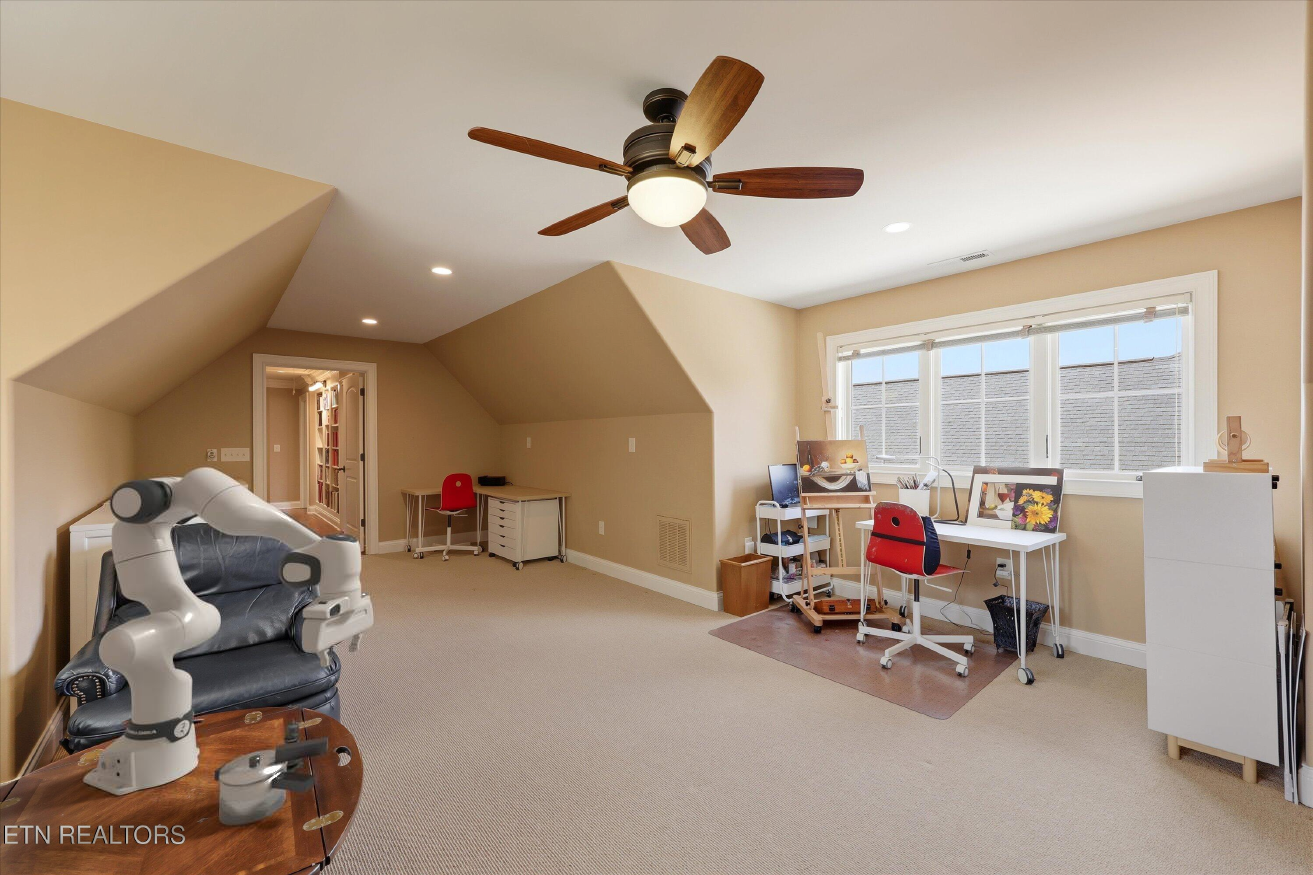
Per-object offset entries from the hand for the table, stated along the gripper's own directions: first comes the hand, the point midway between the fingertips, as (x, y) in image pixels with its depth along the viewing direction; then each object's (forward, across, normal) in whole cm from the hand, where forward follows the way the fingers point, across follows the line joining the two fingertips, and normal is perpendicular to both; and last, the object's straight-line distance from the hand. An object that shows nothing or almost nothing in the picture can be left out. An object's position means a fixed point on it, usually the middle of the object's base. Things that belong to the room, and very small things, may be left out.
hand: (340, 658), depth 138 cm
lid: (+20, +12, -7) cm, 24 cm away
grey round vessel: (+28, -1, -14) cm, 32 cm away
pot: (+28, +14, -8) cm, 32 cm away
